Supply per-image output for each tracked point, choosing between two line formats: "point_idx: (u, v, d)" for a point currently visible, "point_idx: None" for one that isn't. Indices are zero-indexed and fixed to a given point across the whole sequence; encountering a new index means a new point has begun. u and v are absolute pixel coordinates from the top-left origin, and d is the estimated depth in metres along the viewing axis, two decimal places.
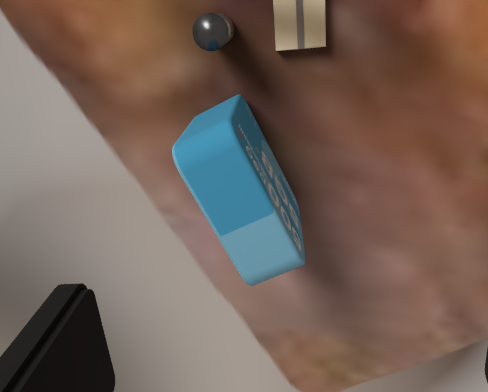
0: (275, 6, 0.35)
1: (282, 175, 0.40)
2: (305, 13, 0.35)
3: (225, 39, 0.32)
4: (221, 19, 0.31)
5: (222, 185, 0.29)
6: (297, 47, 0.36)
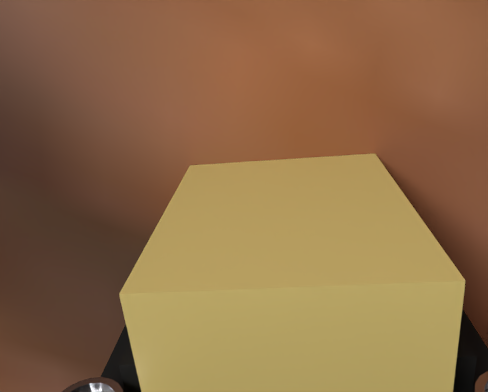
0: None
1: None
2: None
3: None
4: None
5: None
6: None
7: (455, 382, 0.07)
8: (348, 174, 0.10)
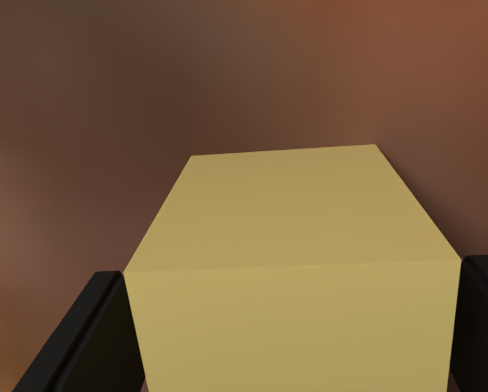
0: None
1: None
2: None
3: None
4: None
5: None
6: None
7: None
8: (349, 162, 0.10)
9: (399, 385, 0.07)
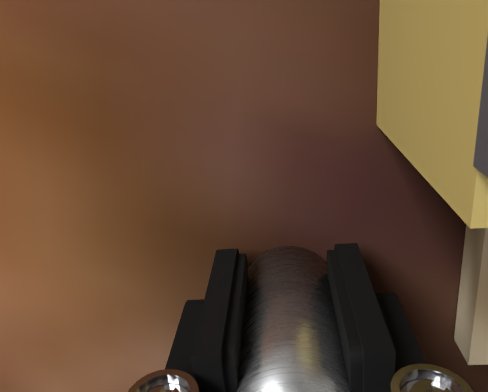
0: None
1: None
2: None
3: None
4: None
5: None
6: None
7: (377, 376, 0.07)
8: None
9: None
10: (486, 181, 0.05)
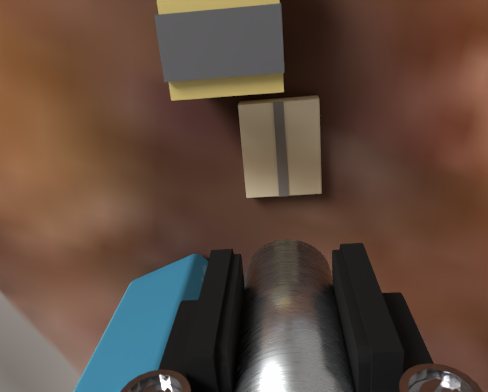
0: (243, 138, 0.23)
1: None
2: (290, 148, 0.23)
3: None
4: None
5: None
6: (278, 194, 0.24)
7: (385, 376, 0.07)
8: None
9: None
10: (172, 85, 0.18)
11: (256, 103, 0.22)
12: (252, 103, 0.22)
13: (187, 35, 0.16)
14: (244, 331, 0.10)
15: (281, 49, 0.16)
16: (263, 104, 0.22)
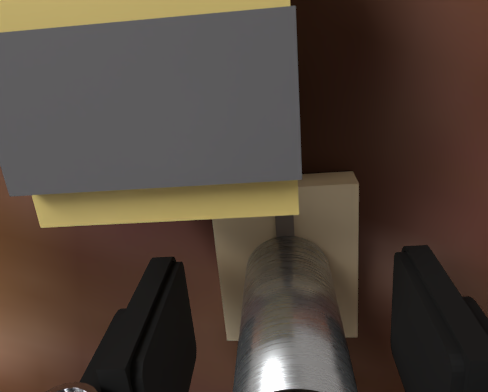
0: (220, 247, 0.13)
1: None
2: None
3: None
4: None
5: None
6: None
7: (481, 386, 0.07)
8: None
9: None
10: (39, 195, 0.08)
11: None
12: None
13: (52, 88, 0.06)
14: (244, 326, 0.10)
15: (295, 124, 0.06)
16: None
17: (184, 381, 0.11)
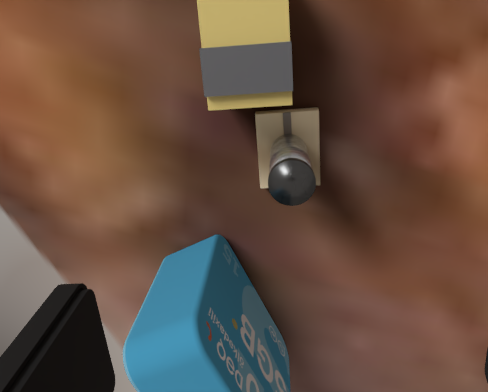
0: (259, 140, 0.29)
1: (268, 321, 0.34)
2: None
3: (311, 191, 0.24)
4: (307, 168, 0.23)
5: None
6: None
7: None
8: None
9: (274, 6, 0.22)
10: (209, 99, 0.24)
11: (269, 113, 0.28)
12: (266, 113, 0.28)
13: (222, 63, 0.23)
14: (272, 157, 0.26)
15: (291, 74, 0.23)
16: (275, 114, 0.28)
17: None
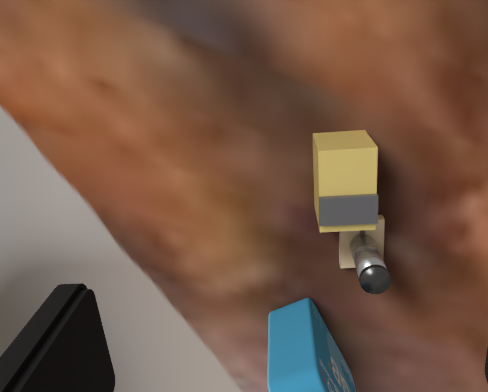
0: (342, 237, 0.42)
1: (341, 357, 0.47)
2: None
3: (388, 286, 0.37)
4: (386, 272, 0.36)
5: None
6: None
7: None
8: (357, 134, 0.38)
9: (368, 174, 0.35)
10: (321, 225, 0.37)
11: None
12: None
13: (333, 207, 0.36)
14: (357, 256, 0.39)
15: (376, 214, 0.36)
16: None
17: None
